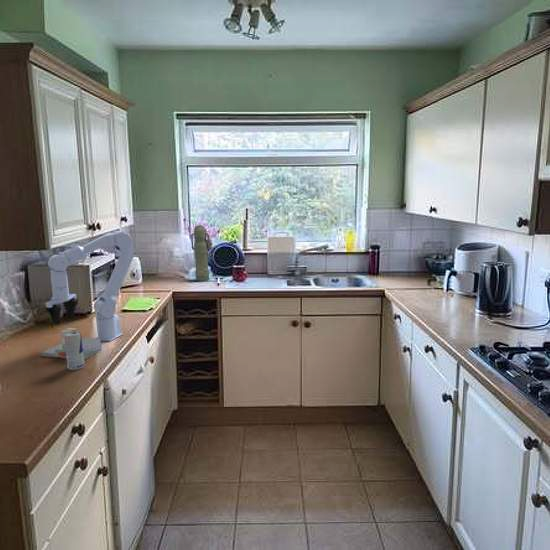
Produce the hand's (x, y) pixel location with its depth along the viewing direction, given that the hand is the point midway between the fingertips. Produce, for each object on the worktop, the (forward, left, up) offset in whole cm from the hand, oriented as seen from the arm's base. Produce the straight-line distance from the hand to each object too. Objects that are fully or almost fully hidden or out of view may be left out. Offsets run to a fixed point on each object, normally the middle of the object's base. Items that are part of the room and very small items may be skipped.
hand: (63, 321), depth 187 cm
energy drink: (+19, +19, -10) cm, 29 cm away
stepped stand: (+7, +8, -10) cm, 15 cm away
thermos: (-133, -2, -10) cm, 133 cm away
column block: (+7, +8, -7) cm, 12 cm away
